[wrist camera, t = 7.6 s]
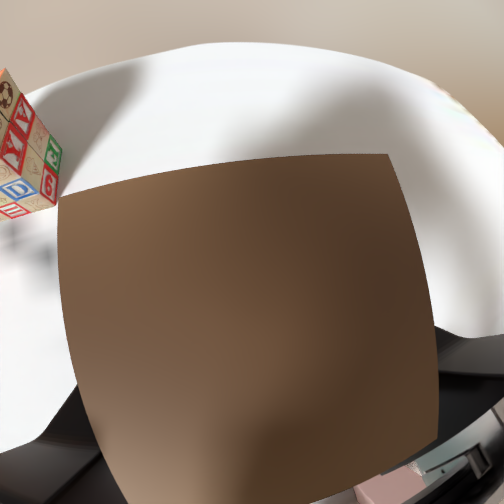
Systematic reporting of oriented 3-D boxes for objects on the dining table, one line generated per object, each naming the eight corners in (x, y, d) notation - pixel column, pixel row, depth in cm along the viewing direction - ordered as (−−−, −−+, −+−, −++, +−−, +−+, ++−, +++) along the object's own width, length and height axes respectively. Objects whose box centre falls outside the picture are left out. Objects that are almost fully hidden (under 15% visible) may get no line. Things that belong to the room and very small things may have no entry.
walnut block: (273, 348, 15) (437, 438, 3) (194, 364, 14) (141, 525, 2) (257, 272, 16) (387, 153, 3) (178, 286, 15) (58, 197, 3)
